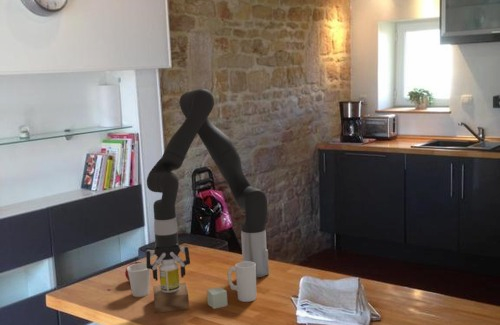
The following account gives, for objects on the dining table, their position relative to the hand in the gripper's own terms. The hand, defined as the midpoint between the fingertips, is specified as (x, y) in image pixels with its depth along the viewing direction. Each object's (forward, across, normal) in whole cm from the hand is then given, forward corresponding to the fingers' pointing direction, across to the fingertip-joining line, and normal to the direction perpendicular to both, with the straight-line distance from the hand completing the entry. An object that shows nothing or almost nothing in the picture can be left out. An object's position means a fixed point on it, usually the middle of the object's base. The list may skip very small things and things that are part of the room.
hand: (169, 278), depth 188 cm
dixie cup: (+9, +10, -13) cm, 19 cm away
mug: (+9, -24, +2) cm, 26 cm away
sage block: (+9, -15, +5) cm, 18 cm away
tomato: (+9, +11, -26) cm, 30 cm away
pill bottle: (+4, 0, 0) cm, 4 cm away
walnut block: (+9, 0, 0) cm, 9 cm away
